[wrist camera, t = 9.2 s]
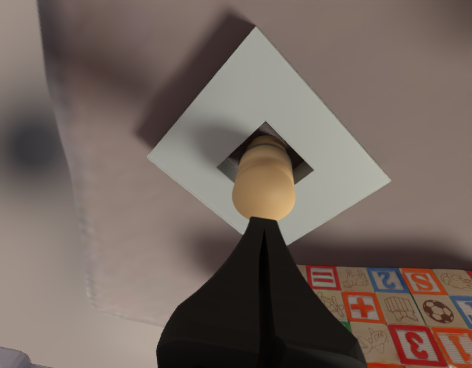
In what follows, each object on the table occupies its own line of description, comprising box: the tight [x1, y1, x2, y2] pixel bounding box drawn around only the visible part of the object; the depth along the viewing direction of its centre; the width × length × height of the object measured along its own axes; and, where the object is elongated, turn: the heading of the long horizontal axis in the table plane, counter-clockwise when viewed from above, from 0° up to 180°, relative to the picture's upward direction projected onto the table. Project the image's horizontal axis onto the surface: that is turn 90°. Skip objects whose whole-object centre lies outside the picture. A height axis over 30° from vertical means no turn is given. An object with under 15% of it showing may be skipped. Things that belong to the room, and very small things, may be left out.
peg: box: [232, 135, 296, 221], centre depth 19 cm, size 4×4×6 cm
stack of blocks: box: [297, 265, 472, 368], centre depth 23 cm, size 21×6×12 cm, turn 96°
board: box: [146, 26, 391, 245], centre depth 20 cm, size 14×12×2 cm
